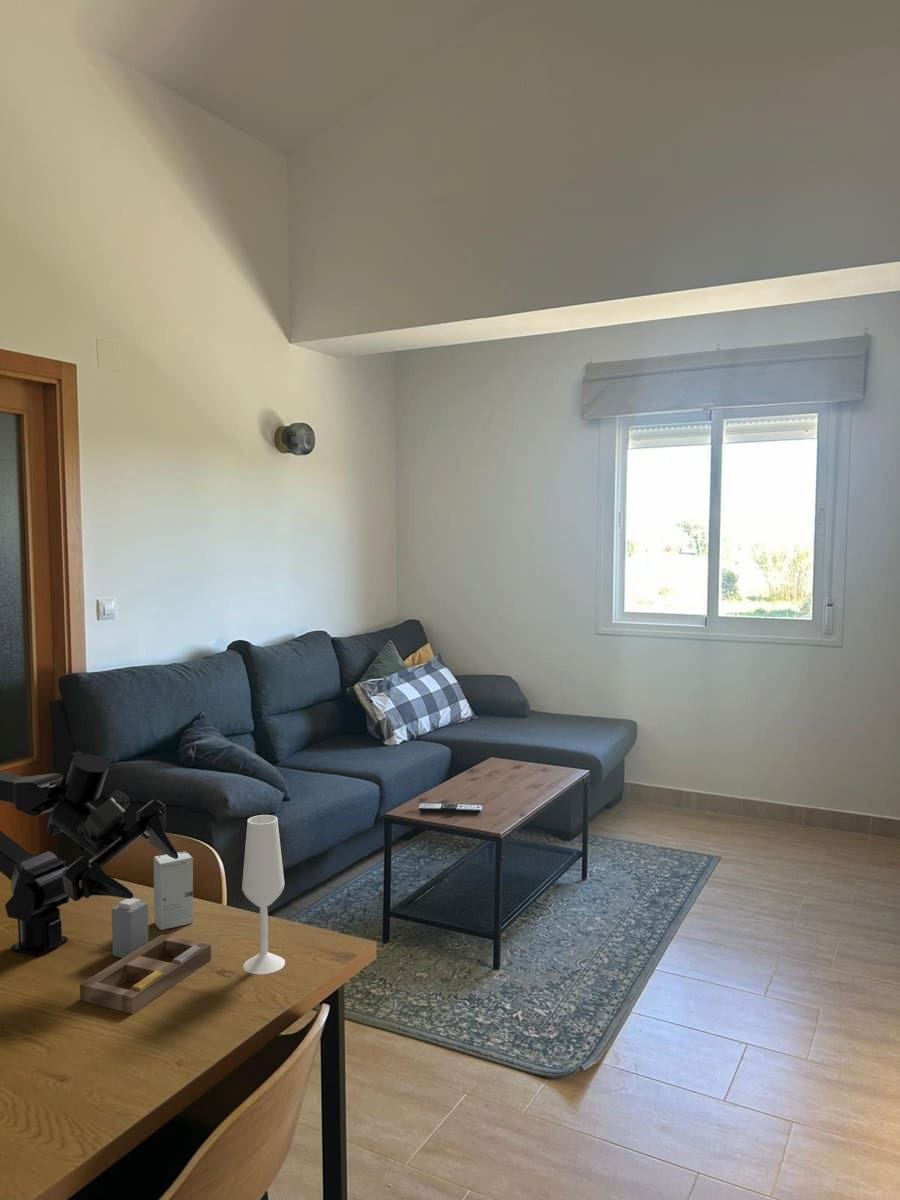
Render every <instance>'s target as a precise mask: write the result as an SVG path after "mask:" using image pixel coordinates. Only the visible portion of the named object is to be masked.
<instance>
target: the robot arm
mask: <svg viewBox="0 0 900 1200" xmlns="http://www.w3.org/2000/svg"><path fill="white" fill-rule="evenodd" d="M66 762H67V764H66V768H65V769H64V773H63V774H62V773H47V774H45V773H44V774H37V775H31V776H30V775H29V776H24V775H19V774H14V773H8V772H3V771H0V801H1V802H6V803H10V804H12V805H13V806H14V809H15V810H16V811H18V812H20V813H22V814H25V815H27V816H30V817H37V816H40V815H43V814H45V813H49V812H51V811H52V812H51V815H50V818H48V819H47V820H46V823H47V828H46V831H47V836H50V837H52V836H55V835H57V834H60V833H62V832H63V833H64V834H66V835H67V836H68V837H70V838H71V839H72V840H73V841H75V842H77V844H78V845H79V846H78V847H79V849H80V850H81V851H82V852H85V851H88V852H89V853H91V854H92V855H93V857H92V858H90V859H89V858H88V857H86V856H85V855H81V856H80V857H78V858H77V859H76V860H75V861H73V862H72V863H71V864H70V865H68V866H67V865H66V864H67V861H66V860H62V859H60V858H59V857H57V855H56V854H55V853H54V852H51V851H50V850H48V851H44V852H42V853H40V854H37V855H33V854H32V853H30V852H29V851H28V850H26V849H25V848H24V847H22V846H21V845H20V844H19V843H17V842H16V841H14V840H13V839H12V838H11V837H10V836H8V835H7V834H5V833H4V832H3V831H2V830H0V873H1V874H2V875H4V876H5V877H6V878H8V879H9V880H10V886H11V892H12V896H11V897H10V898H9V900H8V901H7V902H6V903H5V905H4V906H5V907H4V908H5V911H6V914H7V917H8V918H10V919H15V920H17V935H18V937H17V939H18V941H17V943H14V944H13V945H12V944H11V946H10V950H11V951H14V952H15V951H16V952H19V953H23V954H28V955H33V956H37V957H38V956H39V957H40V956H41V955H43V954H45V953H48V952H50V951H51V950H53V949H54V948H57V947H59V946H60V945H62V944H64V943H66V942H68V940H69V937H68V936H64V935H63V934H62V933H63V932H62V928H63V927H62V918H61V909H60V908H59V907H61V906H63V905H65V904H68V903H69V901H70V899H72V901H74V902H78V901H79V900H81V899H82V898H85V899H88V898H90V897H92V896H98V897H99V896H103V897H105V896H106V897H115V898H122V899H127V898H128V899H132V898H134V893H133V892H132V891H131V890H130V889H129V888H127V887H126V886H125V885H123V883H120V882H119V881H117V880H116V879H114V878H113V877H112V876H110V875H108V874H107V873H106V872H105V871H104V870H103V869H102V867H103V866H105V865H106V864H107V863H109V861H110V860H112V859H113V858H115V857H116V856H117V855H119V854H120V853H121V852H122V851H123V850H124V849H126V848H127V847H129V846H130V845H131V844H132V843H133V842H135V840H137V839H139V837H142V838H144V839H145V840H148V841H149V842H148V843H149V844H150V845H151V846H153V847H154V848H156V849H158V850H159V851H160V852H162V853H164V855H166V854H167V855H168V856H170V857H172V858H174V859H177V858H178V854H177V853H178V852H177V850H176V848H175V847H174V846H173V844H172V842H171V840H170V838H168V835H167V834H166V831H165V828H166V826H167V805H166V804H165V803H163V802H162V801H161V800H158V799H151V800H150V801H148V802H147V803H146V804H145V805H144V806H143V807H141V808H139V810H137V811H136V812H135V818H136V819H135V822H136V823H135V824H133V825H132V826H131V827H130V828H128V829H125V827H126V825H127V822H126V821H127V820H125V819H124V817H123V816H124V814H126V812H127V811H126V809H127V808H128V807H129V806H130V804H131V800H130V798H129V797H128V796H127V795H126V794H125V793H124V792H122V791H121V790H118V789H114V791H112V792H111V793H109V795H108V798H107V799H106V801H104V802H103V803H102V804H101V805H99V806H98V807H97V808H96V807H94V805H92V804H91V803H90V802H93V801H95V800H97V799H99V797H100V795H101V792H102V791H103V787H104V784H105V780H106V777H107V775H108V771H109V769H110V762H109V761H108V759H106V758H105V757H103V756H98V755H95V754H92V753H91V754H89V753H83V752H82V751H80V750H79V751H74V752H72V753H69V754H68V758H67V761H66Z"/></svg>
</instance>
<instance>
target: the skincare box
mask: <svg viewBox="0 0 900 1200" xmlns="http://www.w3.org/2000/svg"><path fill="white" fill-rule="evenodd" d="M177 854H178V858H177V859H174V858H172V857H170V856H168V855H167V854H163V855H162V854H161V855H155V856H153V912H154V913H153V922H154V923H155V925H156V927H157V928H158V930H159V931H161V930H162V931H163V930H167V929H171V928H177V927H182V926H185V925H186V926H187V925H190V924H192V923H193V922H194V896H193V895H194V894H193V893H194V887H193V886H194V883H193V882H194V878H193V876H194V875H193V873H194V872H193V871H194V866H193V865H194V863H193V862H194V859H193V858H194V857H192V856H191V855H190V854H189V853H188V852H187V851H180V852H177Z"/></svg>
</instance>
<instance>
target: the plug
mask: <svg viewBox="0 0 900 1200" xmlns="http://www.w3.org/2000/svg"><path fill="white" fill-rule="evenodd" d="M111 930H112V931H111V936H112V937H111V938H112V940H111V941H112V945H111V946H112V956H114V957H118V958H121V959H122V958H124V957H126V956H127V955H129V954H130V953H132V952H134V951H135V950H137V949H139V948H140V947H142V946H144V945H145V944H147V943H149V942H150V941H149V903H147V902H143V901H141V899H139V898H134V897H133V898H132V899H128V898H124V899H123V900H121V901H119V902H118V905H116V906H114V907H111Z"/></svg>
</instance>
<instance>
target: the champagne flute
mask: <svg viewBox="0 0 900 1200" xmlns="http://www.w3.org/2000/svg"><path fill="white" fill-rule="evenodd" d="M278 820H279V819H278V817H277V816H275V815H271V814H260V815H255V816H251V817H249V818H248V819H247V821H246V834H245V835H246V837H245V847H244V858H243V859H244V860H243V861H244V862H243V870H242V871H243V872H242V884H241V885H242V886H241V890H242V892H243V894H244V895H245V897H246V898H247V900H249V901H250V902H251V903H253V904H254V905H255V906H257V907H258V908H259V930H260V931H259V934H260V936H259V938H260V947H259V948H260V950H259V951H260V953H257V954H256V955H254V956H252V957H251V958H249V959H247V960H246V961H244V963H243V967H242V968H243V970H244V971H245V972H247V973H248V974H253V975H267V974H268V975H270V974H272V973H275V972H278V971H280V970H281V969H283V968H284V967H285V964H286V960H285V959H284V958H283V957H281V956H280V955H277V954H273V953H272V952H269V947H268V946H269V943H268V942H269V941H268V939H269V936H268V935H269V934H268V933H269V932H268V930H269V929H268V907H269V906H271V905H272V904H273V903H274V902H275V901H276V900H277V899H278V898H279V897H280V896H281V894H282V893H283V891H284V888H285V877H284V869H283V867H284V866H283V858H282V849H281V848H282V847H281V840H280V831H279V821H278Z"/></svg>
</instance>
